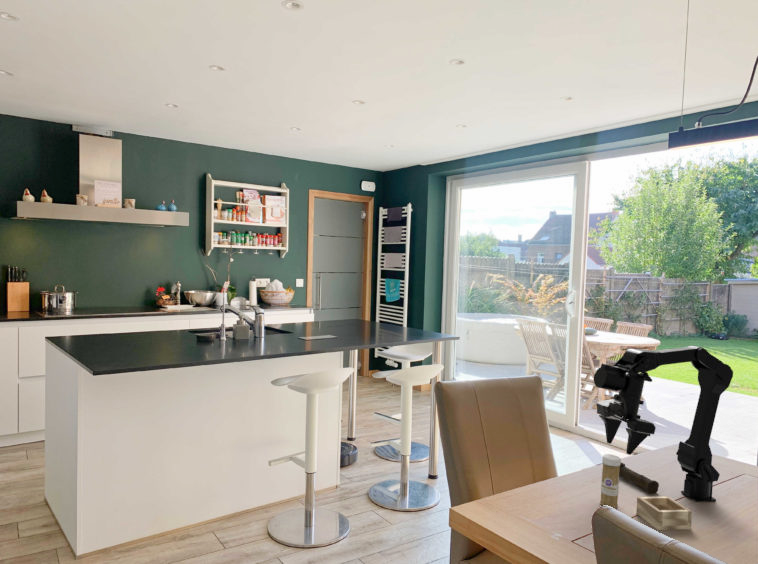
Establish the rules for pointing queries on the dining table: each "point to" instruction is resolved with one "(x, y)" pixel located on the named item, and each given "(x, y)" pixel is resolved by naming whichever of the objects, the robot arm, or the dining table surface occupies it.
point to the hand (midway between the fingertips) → (618, 448)
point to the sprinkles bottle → (610, 480)
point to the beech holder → (664, 513)
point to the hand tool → (638, 479)
